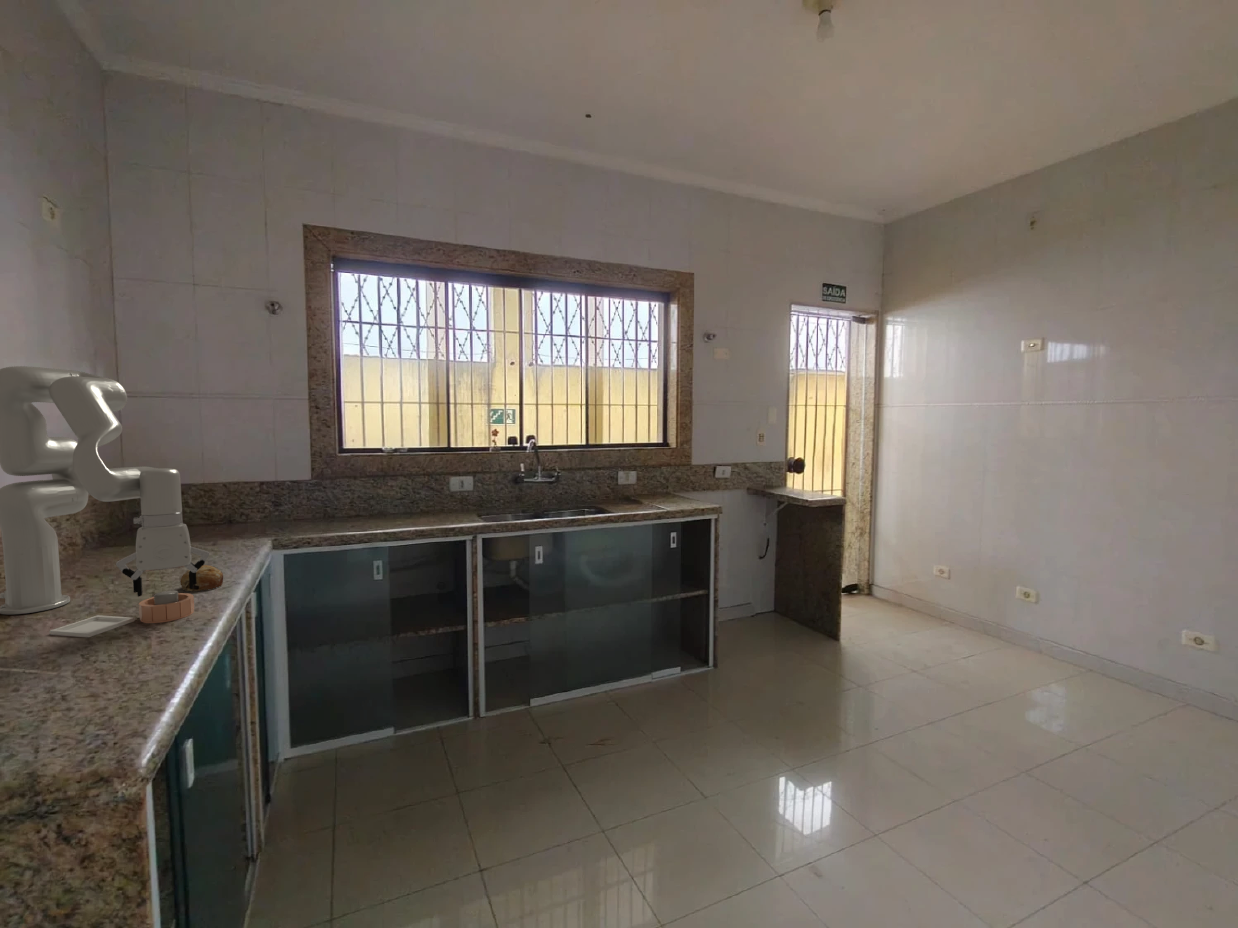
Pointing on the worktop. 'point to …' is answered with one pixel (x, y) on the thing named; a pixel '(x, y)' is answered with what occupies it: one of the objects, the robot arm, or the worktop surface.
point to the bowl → (166, 609)
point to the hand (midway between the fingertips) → (166, 591)
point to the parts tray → (92, 626)
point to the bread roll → (203, 579)
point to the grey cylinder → (166, 597)
